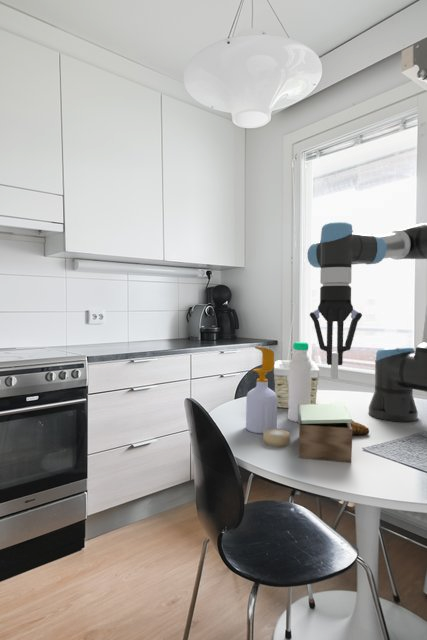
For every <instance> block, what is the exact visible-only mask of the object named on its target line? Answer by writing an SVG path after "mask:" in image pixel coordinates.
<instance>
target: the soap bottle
mask: <svg viewBox="0 0 427 640" xmlns="http://www.w3.org/2000/svg"><path fill="white" fill-rule="evenodd" d="M254 348H255V349H256V350H259V351H260V352H261V353H262V356H261V357H262V359H261V360H262V362H261V363H262V364H261V367H259V368H254V369H252V371H253V372H256V373H257V375H258V376H259V378H257V379H256V386H255V387H253V388H252V389H250V390H249V391H248V392H247V394H246V402H245V403H246V408H245V410H246V413H245V414H246V415H245V418H246V419H245V429H246V430H248V432H251V433H253V434H254V433H255V434H261V435H264V431H266V430H270V429H278V427H277V425H278V407H277V395H276V393H275V390H272V389H271V388H269V387H268V386H269V381H268V379H269V378H266V375H268V373H269V372H274V363H275V353H274V351H273V349H270V348H267V347H262V346H254Z"/></svg>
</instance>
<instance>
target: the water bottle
mask: <svg viewBox="0 0 427 640" xmlns="http://www.w3.org/2000/svg"><path fill="white" fill-rule="evenodd" d="M292 348H293V351H294V353H293V356H292V357H291V359H290V360H289V361H290V363H289V369H290V371H289V400H288V405H289V408H287V410H288V411H287V418H288V419H289V420H290V421H291V422H295V423H298V405H299V404H300V405H306V404H311V401H310V394H311V368H312V365H311V362H310V361H311V360H310V358H309V356H308V354H307V353H308V350H309V344H308V342H304V341H296V342H293V344H292Z"/></svg>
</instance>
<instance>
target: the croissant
mask: <svg viewBox="0 0 427 640" xmlns="http://www.w3.org/2000/svg"><path fill="white" fill-rule="evenodd" d="M350 425H351V427H352V436H366V435H369V433H370V429H369V427H367V426H366V425H364V424H361V423H360V422H356V421H354V420H353V419H352V423H350Z"/></svg>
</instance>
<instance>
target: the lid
mask: <svg viewBox="0 0 427 640" xmlns="http://www.w3.org/2000/svg"><path fill="white" fill-rule="evenodd" d="M352 420H353V419H352V416H351V414H350V413H349V411H348V408H347V406H346V403H343V402H342V403H316V404H306V405H300V404H299V405H298V422H297V423H298V424H309V423H352Z"/></svg>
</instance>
